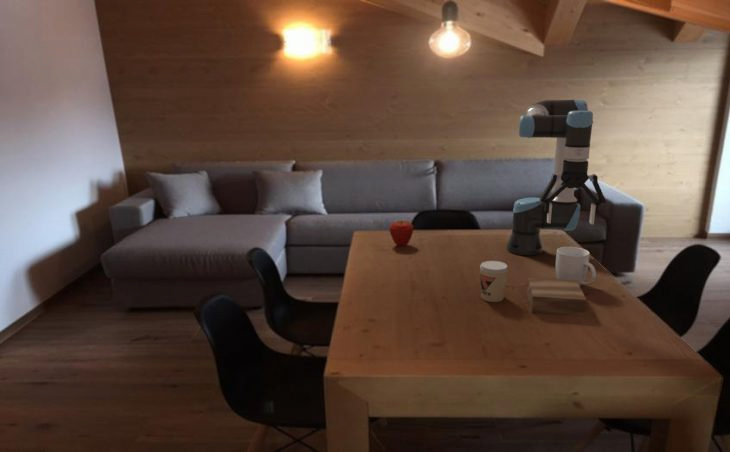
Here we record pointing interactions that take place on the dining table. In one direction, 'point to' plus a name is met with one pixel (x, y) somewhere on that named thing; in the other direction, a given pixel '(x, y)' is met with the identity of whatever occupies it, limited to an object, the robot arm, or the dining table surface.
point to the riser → (556, 297)
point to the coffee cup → (493, 280)
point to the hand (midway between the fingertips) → (569, 223)
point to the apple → (401, 232)
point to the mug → (573, 265)
